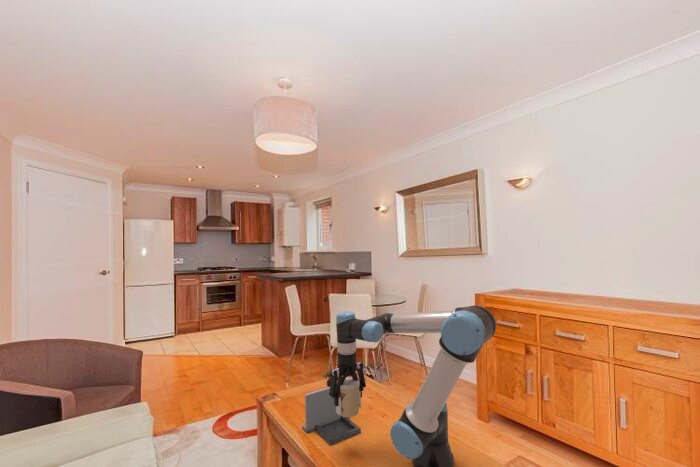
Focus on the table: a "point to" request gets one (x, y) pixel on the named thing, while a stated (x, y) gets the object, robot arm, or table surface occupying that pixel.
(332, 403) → the wall board
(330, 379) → the music box
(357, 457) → the table surface
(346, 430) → the plate
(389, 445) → the table surface
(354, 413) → the coffee cup
